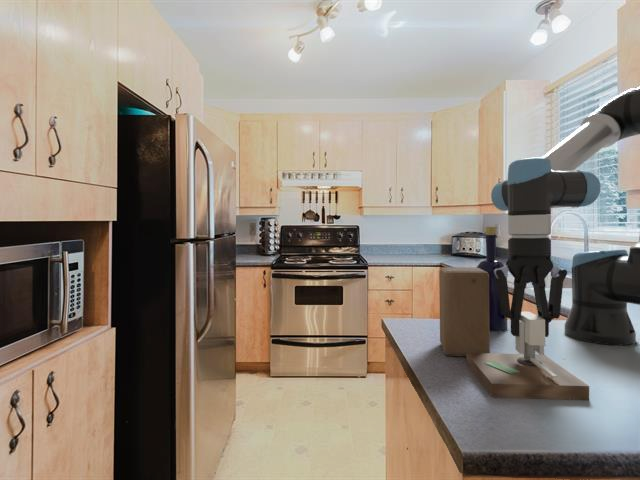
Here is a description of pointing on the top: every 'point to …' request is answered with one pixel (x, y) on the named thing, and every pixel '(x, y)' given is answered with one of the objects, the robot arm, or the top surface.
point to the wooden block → (464, 310)
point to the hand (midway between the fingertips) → (529, 351)
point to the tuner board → (525, 377)
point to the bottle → (493, 282)
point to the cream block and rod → (534, 338)
